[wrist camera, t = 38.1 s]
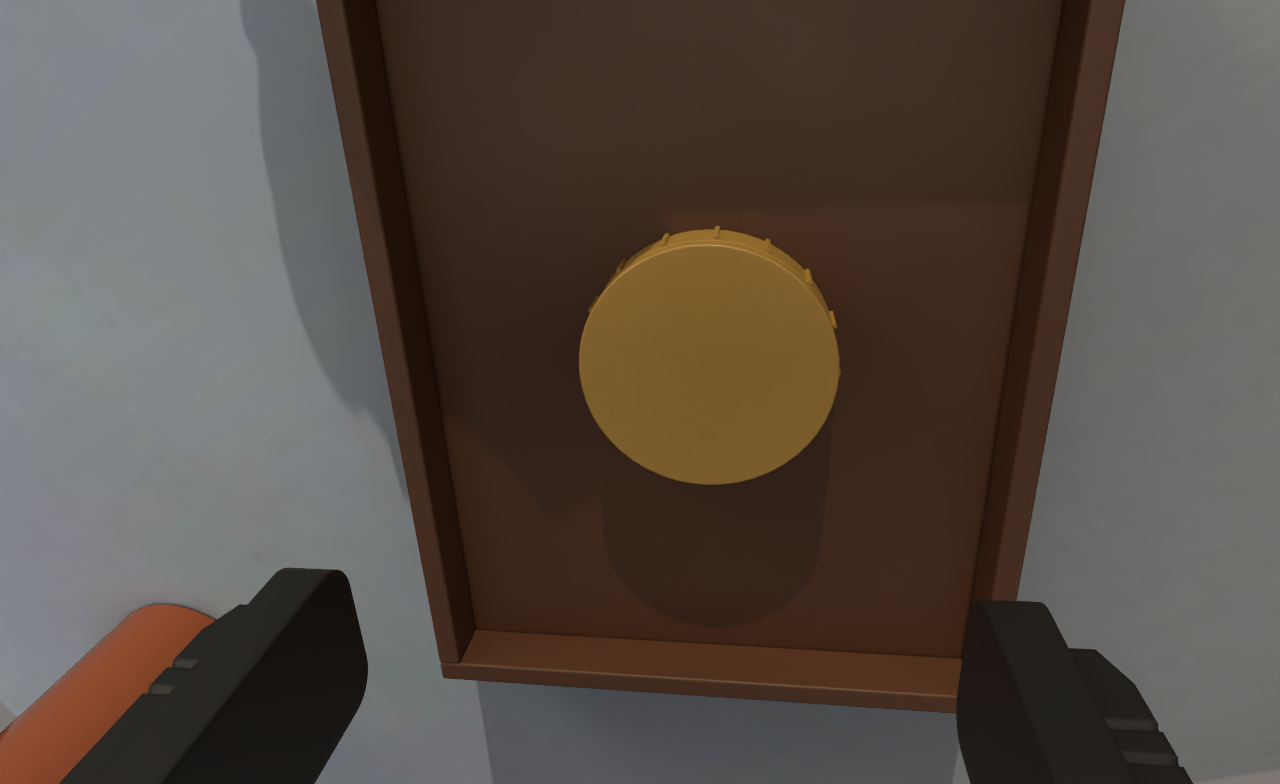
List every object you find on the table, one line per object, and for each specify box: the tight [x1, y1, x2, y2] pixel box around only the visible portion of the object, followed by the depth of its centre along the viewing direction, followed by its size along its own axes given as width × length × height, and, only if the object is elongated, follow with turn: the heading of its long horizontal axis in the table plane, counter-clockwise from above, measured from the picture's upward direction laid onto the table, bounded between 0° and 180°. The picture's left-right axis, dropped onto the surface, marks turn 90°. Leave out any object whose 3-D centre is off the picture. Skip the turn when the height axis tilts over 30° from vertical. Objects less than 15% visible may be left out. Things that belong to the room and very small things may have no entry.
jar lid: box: [579, 226, 841, 485], centre depth 19 cm, size 6×6×2 cm
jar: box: [0, 605, 215, 784], centre depth 24 cm, size 5×5×9 cm
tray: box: [316, 0, 1125, 713], centre depth 19 cm, size 19×15×2 cm
